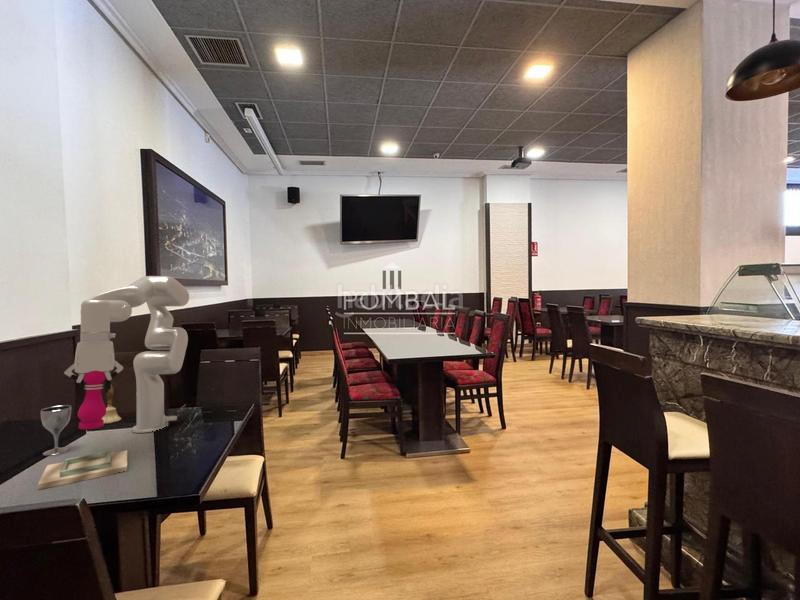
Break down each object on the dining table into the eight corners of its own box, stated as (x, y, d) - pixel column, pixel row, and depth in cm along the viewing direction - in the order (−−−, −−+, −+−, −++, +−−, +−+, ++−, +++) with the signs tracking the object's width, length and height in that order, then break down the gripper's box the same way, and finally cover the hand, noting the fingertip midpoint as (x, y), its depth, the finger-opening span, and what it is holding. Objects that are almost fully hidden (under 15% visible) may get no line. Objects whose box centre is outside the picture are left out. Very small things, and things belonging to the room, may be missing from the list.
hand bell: (96, 420, 170) (96, 384, 170) (119, 417, 176) (119, 381, 176) (98, 425, 164) (98, 387, 164) (122, 420, 170) (122, 384, 170)
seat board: (127, 454, 130) (127, 445, 130) (127, 471, 117) (127, 461, 117) (47, 470, 118) (47, 460, 119) (37, 490, 105) (37, 479, 106)
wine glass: (36, 457, 129) (36, 412, 129) (45, 449, 136) (45, 407, 136) (67, 453, 132) (67, 409, 132) (74, 445, 139) (74, 404, 140)
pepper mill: (89, 430, 120) (93, 365, 121) (70, 428, 121) (75, 364, 123) (111, 424, 127) (115, 363, 128) (93, 423, 128) (97, 362, 130)
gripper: (127, 336, 134) (127, 388, 133) (62, 338, 124) (61, 395, 123) (127, 337, 128) (126, 391, 127) (58, 339, 118) (57, 399, 117)
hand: (94, 392), depth 125 cm, fingers closed on pepper mill, 5 cm apart
